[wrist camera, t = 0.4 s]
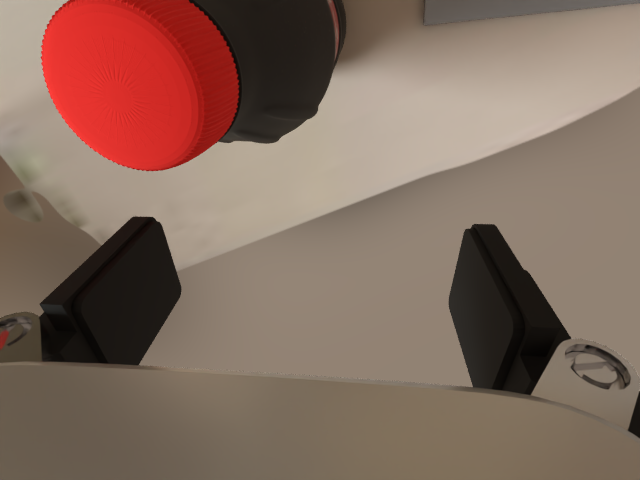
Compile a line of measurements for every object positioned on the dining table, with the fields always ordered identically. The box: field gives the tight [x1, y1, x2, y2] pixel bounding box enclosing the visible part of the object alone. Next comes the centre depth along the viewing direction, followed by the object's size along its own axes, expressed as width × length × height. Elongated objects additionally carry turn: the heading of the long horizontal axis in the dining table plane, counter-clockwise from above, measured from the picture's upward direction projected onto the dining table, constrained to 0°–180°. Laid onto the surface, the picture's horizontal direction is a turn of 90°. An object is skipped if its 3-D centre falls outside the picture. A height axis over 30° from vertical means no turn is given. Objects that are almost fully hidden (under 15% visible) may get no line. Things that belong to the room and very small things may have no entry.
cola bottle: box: [41, 0, 346, 171], centre depth 20 cm, size 8×8×30 cm
